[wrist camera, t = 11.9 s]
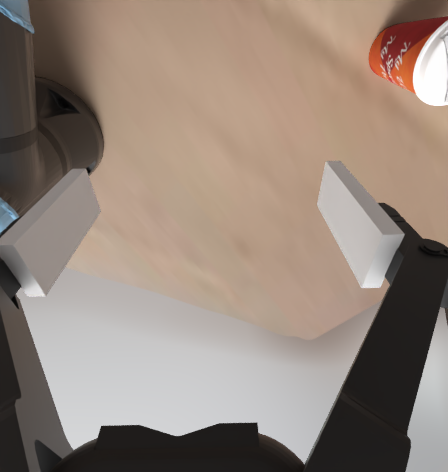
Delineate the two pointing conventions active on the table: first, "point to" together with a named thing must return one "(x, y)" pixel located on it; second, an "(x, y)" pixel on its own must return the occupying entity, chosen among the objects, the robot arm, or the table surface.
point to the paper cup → (415, 58)
